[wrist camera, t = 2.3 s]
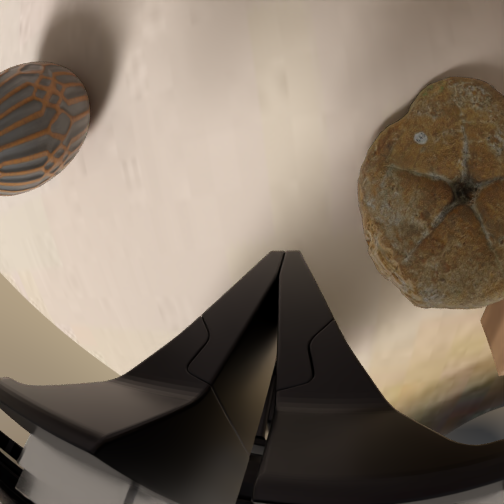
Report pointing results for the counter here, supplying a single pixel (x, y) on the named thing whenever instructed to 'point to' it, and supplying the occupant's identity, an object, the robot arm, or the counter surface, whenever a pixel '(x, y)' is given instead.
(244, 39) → the counter surface
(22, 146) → the vase
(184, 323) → the counter surface
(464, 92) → the fossil
